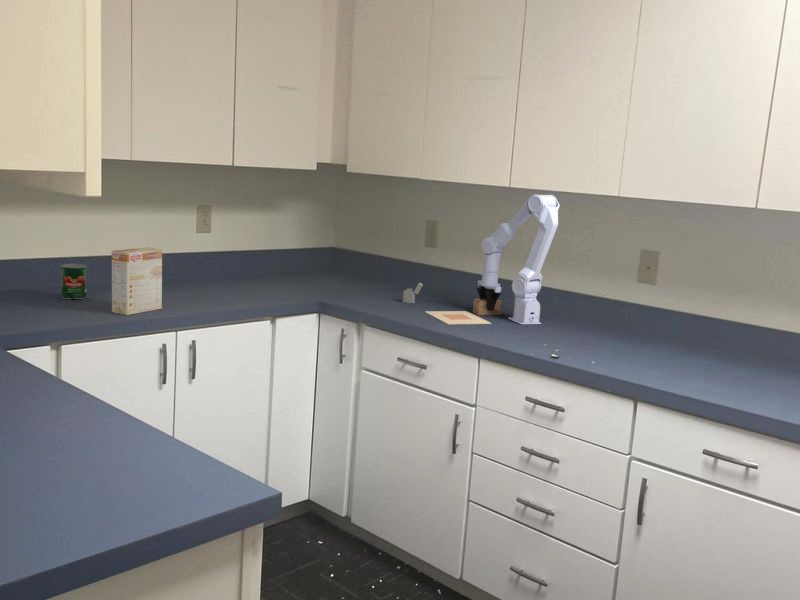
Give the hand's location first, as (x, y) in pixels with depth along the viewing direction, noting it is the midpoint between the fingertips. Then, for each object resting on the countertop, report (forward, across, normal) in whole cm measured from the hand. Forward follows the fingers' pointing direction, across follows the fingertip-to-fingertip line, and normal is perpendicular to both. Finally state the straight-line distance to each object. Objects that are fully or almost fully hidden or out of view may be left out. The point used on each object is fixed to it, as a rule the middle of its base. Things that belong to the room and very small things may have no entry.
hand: (487, 309), depth 287 cm
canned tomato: (+2, +32, +138) cm, 142 cm away
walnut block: (+2, 0, 0) cm, 2 cm away
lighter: (+2, +20, +21) cm, 29 cm away
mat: (+2, -7, +15) cm, 17 cm away
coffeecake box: (+2, +10, +119) cm, 119 cm away
